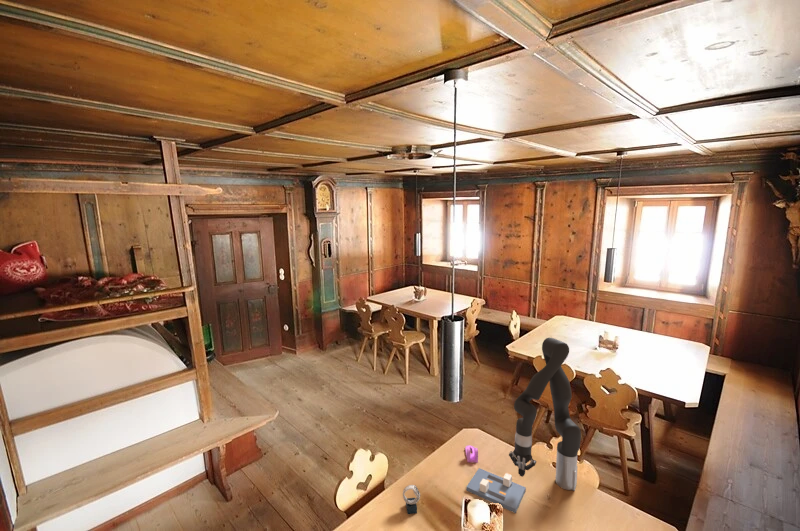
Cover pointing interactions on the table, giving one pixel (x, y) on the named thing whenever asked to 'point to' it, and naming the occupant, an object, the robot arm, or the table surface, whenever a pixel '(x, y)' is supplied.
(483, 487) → the tab
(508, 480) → the tab
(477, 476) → the switch bank
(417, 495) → the watch
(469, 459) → the bracket
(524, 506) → the table surface
